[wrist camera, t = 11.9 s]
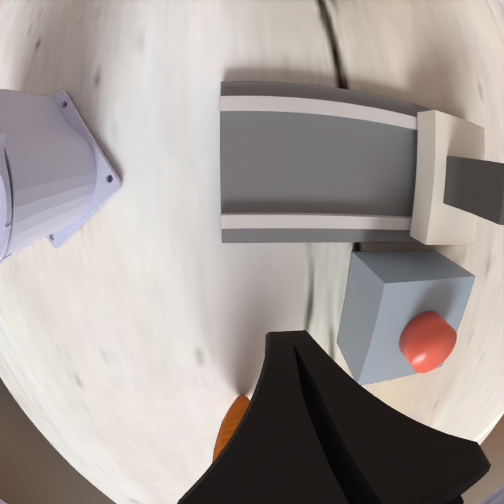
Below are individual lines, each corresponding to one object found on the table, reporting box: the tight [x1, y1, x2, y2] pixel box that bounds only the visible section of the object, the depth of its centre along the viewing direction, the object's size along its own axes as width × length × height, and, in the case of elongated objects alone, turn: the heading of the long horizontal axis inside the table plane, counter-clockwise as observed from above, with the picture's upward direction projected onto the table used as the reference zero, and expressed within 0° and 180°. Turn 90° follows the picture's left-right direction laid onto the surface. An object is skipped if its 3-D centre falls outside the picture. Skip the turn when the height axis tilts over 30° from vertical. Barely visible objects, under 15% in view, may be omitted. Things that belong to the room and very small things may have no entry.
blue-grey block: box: [337, 251, 475, 385], centre depth 18 cm, size 8×8×5 cm
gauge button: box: [399, 311, 457, 373], centre depth 15 cm, size 4×4×2 cm
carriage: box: [410, 110, 504, 245], centre depth 12 cm, size 5×8×7 cm, turn 0°
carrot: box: [212, 395, 250, 463], centre depth 17 cm, size 5×5×15 cm
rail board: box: [220, 81, 432, 243], centre depth 16 cm, size 19×10×2 cm, turn 90°
